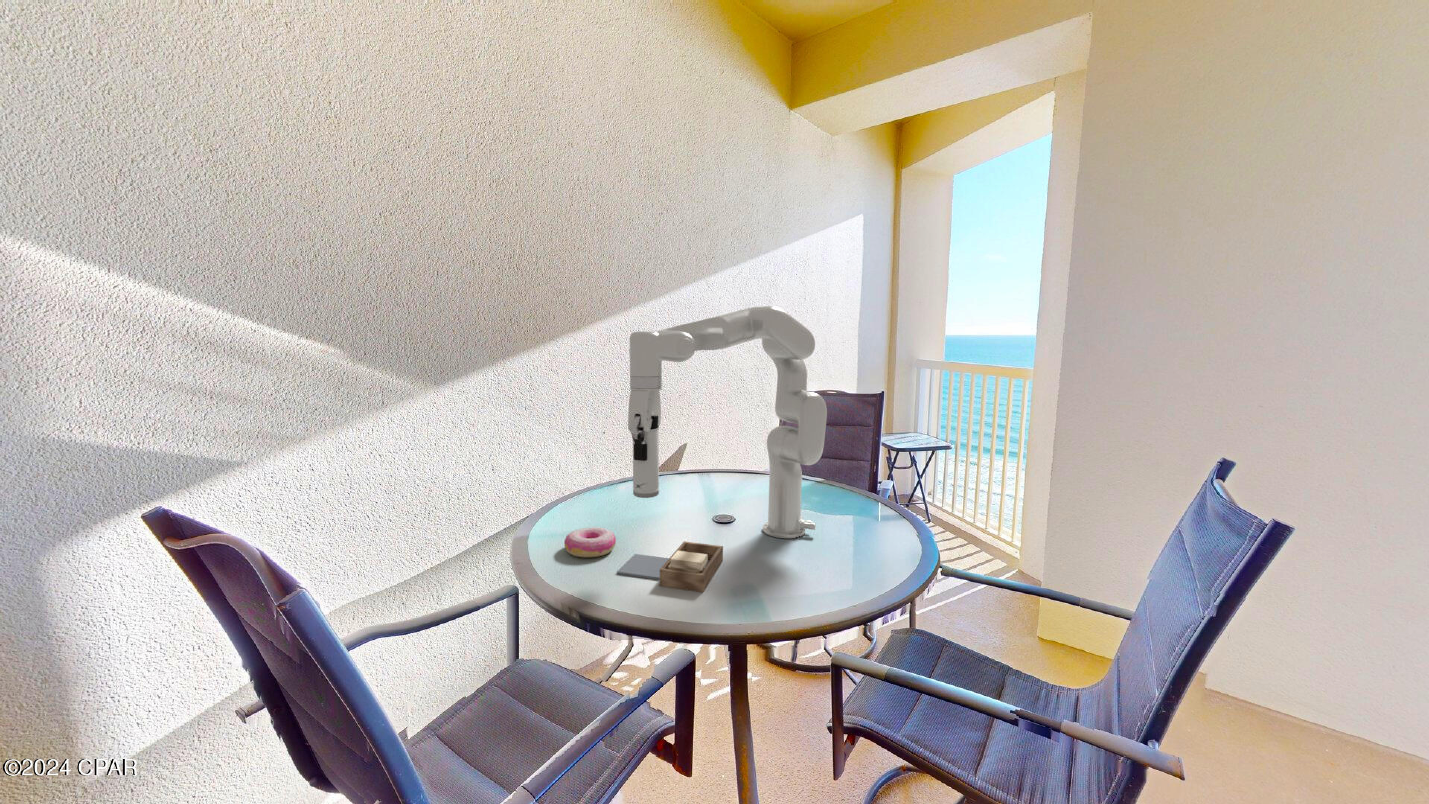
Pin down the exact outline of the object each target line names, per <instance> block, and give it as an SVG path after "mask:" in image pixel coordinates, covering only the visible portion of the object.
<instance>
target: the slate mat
mask: <svg viewBox="0 0 1429 804" xmlns="http://www.w3.org/2000/svg"><path fill="white" fill-rule="evenodd" d="M669 558H670V557H669ZM669 558H668V557H662V556H655V555H647V554H639V553H635V554H634V555H632V556H631V557H630V558H629V559H628V560H627V561H626V562H625V563H624V564H623V565H622V566H620V568H619V569H618V570H617V571H616V574H617V575H622V576H629V577H637V578H642V579H643V578H645V579H651V580H656V581H660V569H661V567H662V566H663V565H664V564H665V563H666V562H667V561H668V559H669Z"/></svg>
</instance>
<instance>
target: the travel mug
mask: <svg viewBox="0 0 1429 804" xmlns="http://www.w3.org/2000/svg"><path fill="white" fill-rule="evenodd" d="M651 419H652V424H651V425H652V426H651V430H650V431H649V432H647V437H646V443H645V444H647V460H646V461H640V460H634V444H633V443H632V488H633V489H632V493H633V495H634V496H635V497H636V498H639V499H640V498H641V499H651V498H655V497H657V496H659V495H660V465H659V464H660V463H659V462H660V460H659V459H660V455H659V454H660V450H659V449H660V448H659V447H660V446H659V443H660V442H659V441H660V440H659V439H660V435H659V433H660V431H659V430H658V429H660V428H659V427H660V426H659V427H658V416H651ZM643 429H644V428H639V429H638V430H641V431H644V430H643ZM640 435H641V436H642V437H643V434H640Z"/></svg>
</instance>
